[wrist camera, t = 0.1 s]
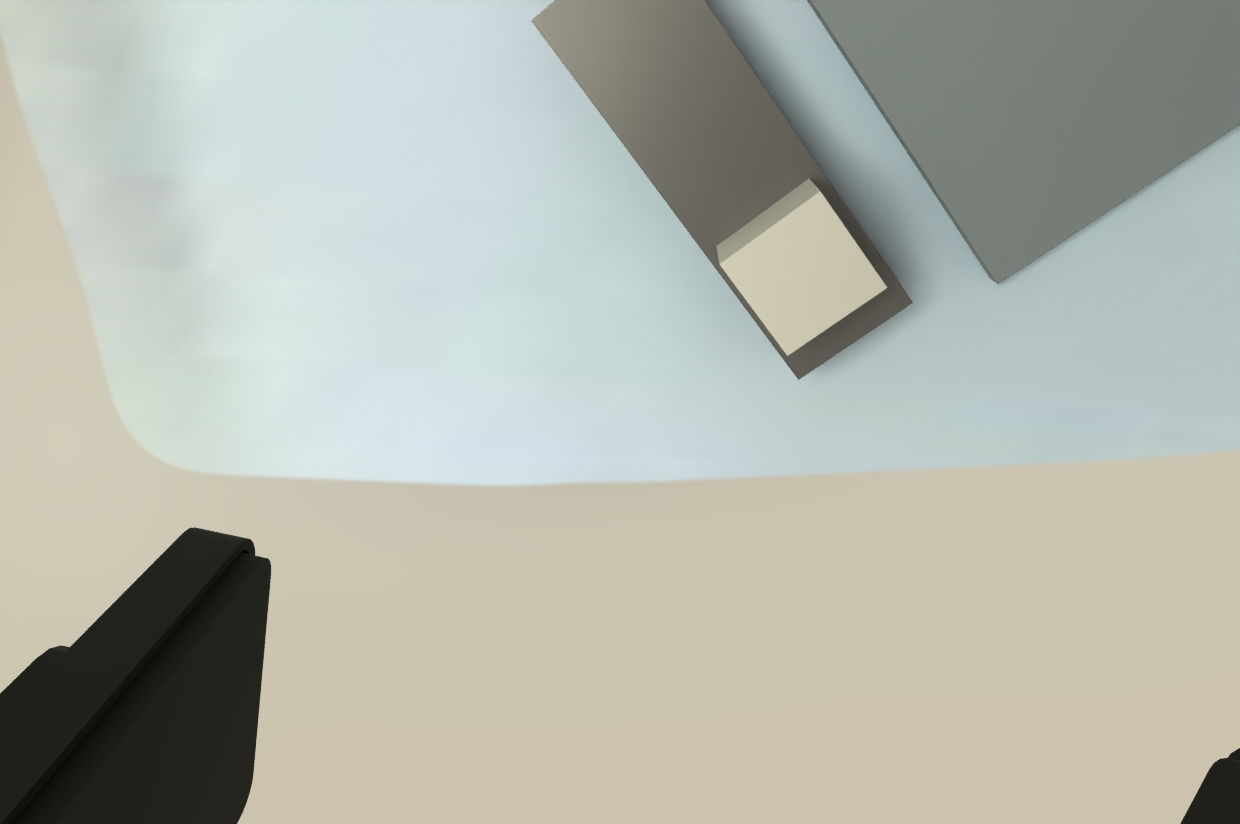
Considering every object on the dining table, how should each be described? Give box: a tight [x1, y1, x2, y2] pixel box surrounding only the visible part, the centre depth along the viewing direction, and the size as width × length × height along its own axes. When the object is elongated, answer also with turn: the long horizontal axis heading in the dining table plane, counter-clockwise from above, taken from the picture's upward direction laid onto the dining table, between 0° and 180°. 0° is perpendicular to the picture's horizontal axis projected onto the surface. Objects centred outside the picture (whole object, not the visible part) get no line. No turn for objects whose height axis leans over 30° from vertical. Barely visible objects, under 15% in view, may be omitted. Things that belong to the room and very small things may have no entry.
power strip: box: [532, 0, 913, 380], centre depth 35 cm, size 5×16×6 cm, turn 38°
